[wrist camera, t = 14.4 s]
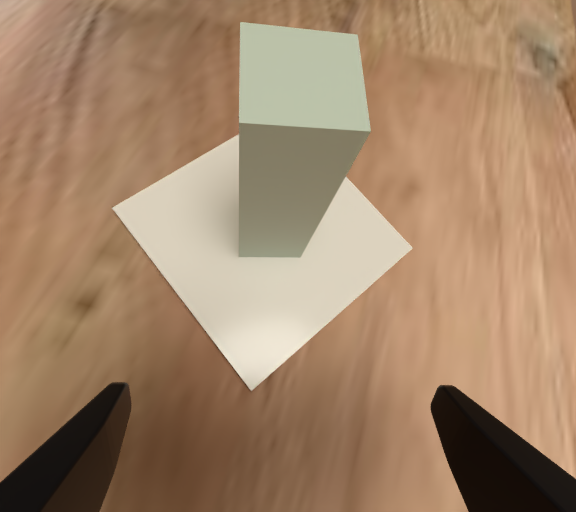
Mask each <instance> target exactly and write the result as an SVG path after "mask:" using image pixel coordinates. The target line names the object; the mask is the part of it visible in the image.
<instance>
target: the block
mask: <svg viewBox="0 0 576 512" xmlns="http://www.w3.org/2000/svg"><path fill="white" fill-rule="evenodd" d="M370 132H371V129H370V122H369V115H368V107H367V100H366V93H365V85H364V78H363V70H362V63H361V56H360V48H359V41H358V35H355V34H346V33H336V32H327V31H318V30H309V29H300V28H291V27H281V26H272V25H263V24H254V23H245V22H240V89H239V257H290V258H300V257H301V256H302V254H303V252H304V250H305V248H306V247H307V245H308V243H309V241H310V240H311V238H312V236H313V234H314V232H315V231H316V229H317V227H318V225H319V223H320V222H321V220H322V218H323V216H324V214H325V213H326V211H327V209H328V207H329V205H330V204H331V202H332V200H333V198H334V197H335V195H336V193H337V191H338V189H339V188H340V186H341V184H342V182H343V180H344V179H345V177H346V175H347V173H348V171H349V170H350V168H351V166H352V164H353V162H354V161H355V159H356V157H357V155H358V154H359V152H360V150H361V148H362V146H363V145H364V143H365V141H366V139H367V137H368V136H369V134H370Z"/></svg>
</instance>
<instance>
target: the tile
mask: <svg viewBox="0 0 576 512" xmlns="http://www.w3.org/2000/svg"><path fill="white" fill-rule="evenodd" d="M112 209H113V210H114V211H115V213H116V214H117V215H118V216H119V218H120V219H121V220H122V222H123V223H124V224H125V226H126V227H127V228H128V230H129V231H130V232H131V234H132V235H133V236H134V237H135V239H136V240H137V241H138V243H139V244H140V245H141V247H142V248H143V249H144V251H145V252H146V253H147V255H148V256H149V257H150V259H151V260H152V261H153V262H154V264H155V265H156V266H157V268H158V269H159V270H160V272H161V273H162V274H163V276H164V277H165V278H166V280H167V281H168V282H169V284H170V285H171V286H172V287H173V289H174V290H175V291H176V293H177V294H178V295H179V297H180V298H181V299H182V301H183V302H184V303H185V305H186V306H187V307H188V309H189V310H190V311H191V312H192V314H193V315H194V316H195V318H196V319H197V320H198V322H199V323H200V324H201V326H202V327H203V328H204V330H205V331H206V332H207V334H208V335H209V336H210V337H211V339H212V340H213V341H214V343H215V344H216V345H217V347H218V348H219V349H220V351H221V352H222V353H223V355H224V356H225V357H226V358H227V360H228V361H229V362H230V364H231V365H232V366H233V368H234V369H235V370H236V372H237V373H238V374H239V376H240V377H241V378H242V380H243V381H244V382H245V383H246V385H247V386H248V387H249V389H250V390H251V391H252V390H253V389H254V388H255V387H257V386H258V385H259V384H260V383H261V382H262V381H263V380H264V379H266V378H267V377H268V376H269V375H270V374H271V373H272V372H274V371H275V370H276V369H277V368H278V367H279V366H280V365H281V364H283V363H284V362H285V361H286V360H287V359H288V358H289V357H290V356H292V355H293V354H294V353H295V352H296V351H297V350H298V349H299V348H301V347H302V346H303V345H304V344H305V343H306V342H307V341H308V340H310V339H311V338H312V337H313V336H314V335H315V334H316V333H318V332H319V331H320V330H321V329H322V328H323V327H324V326H325V325H327V324H328V323H329V322H330V321H331V320H332V319H333V318H334V317H336V316H337V315H338V314H339V313H340V312H341V311H342V310H343V309H345V308H346V307H347V306H348V305H349V304H350V303H351V302H352V301H354V300H355V299H356V298H357V297H358V296H359V295H360V294H361V293H363V292H364V291H365V290H366V289H367V288H368V287H369V286H371V285H372V284H373V283H374V282H375V281H376V280H377V279H378V278H380V277H381V276H382V275H383V274H384V273H385V272H386V271H387V270H389V269H390V268H391V267H392V266H393V265H394V264H395V263H396V262H398V261H399V260H400V259H401V258H402V257H403V256H404V255H405V254H407V253H408V252H409V251H410V250H411V249H412V247H411V246H410V245H409V244H408V243H407V241H406V240H405V239H404V238H403V237H402V236H401V235H400V234H399V233H398V232H397V231H396V230H395V229H394V228H393V226H392V225H391V224H390V223H389V222H388V221H387V220H386V219H385V218H384V217H383V216H382V215H381V214H380V212H379V211H378V210H377V209H376V208H375V207H374V206H373V205H372V204H371V203H370V202H369V201H368V200H367V199H366V197H365V196H364V195H363V194H362V193H361V192H360V191H359V190H358V189H357V188H356V187H355V186H354V185H353V183H352V182H351V181H350V180H349V179H348V178H347V177H345V179H344V180H343V182H342V184H341V186H340V188H339V189H338V191H337V193H336V195H335V197H334V198H333V200H332V202H331V204H330V205H329V207H328V209H327V211H326V213H325V214H324V216H323V218H322V220H321V222H320V223H319V225H318V227H317V229H316V231H315V232H314V234H313V236H312V238H311V240H310V241H309V243H308V245H307V247H306V248H305V250H304V252H303V254H302V256H301V257H300V258H290V257H239V134H238V135H237V136H235V137H233V138H232V139H230V140H228V141H226V142H225V143H223V144H221V145H219V146H218V147H216V148H214V149H213V150H211V151H209V152H207V153H206V154H204V155H202V156H201V157H199V158H197V159H195V160H194V161H192V162H190V163H189V164H187V165H185V166H183V167H182V168H180V169H178V170H176V171H175V172H173V173H171V174H170V175H168V176H166V177H164V178H163V179H161V180H159V181H158V182H156V183H154V184H152V185H151V186H149V187H147V188H146V189H144V190H142V191H140V192H139V193H137V194H135V195H133V196H132V197H130V198H128V199H127V200H125V201H123V202H121V203H120V204H118V205H116V206H115V207H113V208H112Z"/></svg>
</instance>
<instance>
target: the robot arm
mask: <svg viewBox="0 0 576 512" xmlns="http://www.w3.org/2000/svg"><path fill="white" fill-rule="evenodd" d="M130 412H131V398H130V391H129V385H128V383H125V382H113V383H111V384H109V385H108V386H107V387H106V388H105V389H104V390H102V391H101V392H100V393H99V394H98V395H97V396H96V397H95V398H94V399H92V400H91V401H90V402H89V403H88V404H87V405H86V406H85V407H84V408H82V409H81V410H80V411H79V412H78V413H77V414H76V415H75V416H74V417H72V418H71V419H70V420H69V421H68V422H67V423H66V424H65V425H64V426H62V427H61V428H60V429H59V430H58V431H57V432H56V433H55V434H54V435H52V436H51V437H50V438H49V439H48V440H47V441H46V442H45V443H44V444H42V445H41V446H40V447H39V448H38V449H37V450H36V451H35V452H34V453H32V454H31V455H30V456H29V457H28V458H27V459H26V460H25V461H24V462H22V463H21V464H20V465H19V466H18V467H17V468H16V469H15V470H14V471H12V472H11V473H10V474H9V475H8V476H7V477H6V478H5V479H4V480H2V481H1V482H0V512H99V511H100V509H101V506H102V504H103V501H104V498H105V496H106V493H107V490H108V488H109V485H110V483H111V480H112V477H113V474H114V471H115V468H116V464H117V461H118V457H119V453H120V449H121V446H122V442H123V438H124V434H125V431H126V427H127V423H128V419H129V416H130ZM431 413H432V416H433V419H434V422H435V425H436V428H437V431H438V434H439V437H440V440H441V443H442V447H443V450H444V453H445V456H446V458H447V461H448V464H449V467H450V469H451V471H452V474H453V476H454V478H455V481H456V483H457V485H458V488H459V490H460V492H461V495H462V497H463V499H464V502H465V504H466V506H467V509H468V511H469V512H576V479H575V478H574V477H572V476H571V475H570V474H568V473H567V472H566V471H565V470H563V469H562V468H561V467H559V466H558V465H557V464H555V463H554V462H553V461H551V460H550V459H549V458H548V457H546V456H545V455H544V454H542V453H541V452H540V451H538V450H537V449H536V448H534V447H533V446H532V445H531V444H529V443H528V442H527V441H525V440H524V439H523V438H521V437H520V436H519V435H517V434H516V433H515V432H513V431H512V430H511V429H510V428H508V427H507V426H506V425H504V424H503V423H502V422H500V421H499V420H498V419H496V418H495V417H494V416H493V415H491V414H490V413H489V412H487V411H486V410H485V409H483V408H482V407H481V406H479V405H478V404H477V403H476V402H474V401H473V400H472V399H470V398H469V397H468V396H466V395H465V394H464V393H462V392H461V391H460V390H459V389H457V388H456V387H454V386H452V385H440V386H439V387H438V388H437V390H436V393H435V395H434V397H433V400H432V402H431Z"/></svg>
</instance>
